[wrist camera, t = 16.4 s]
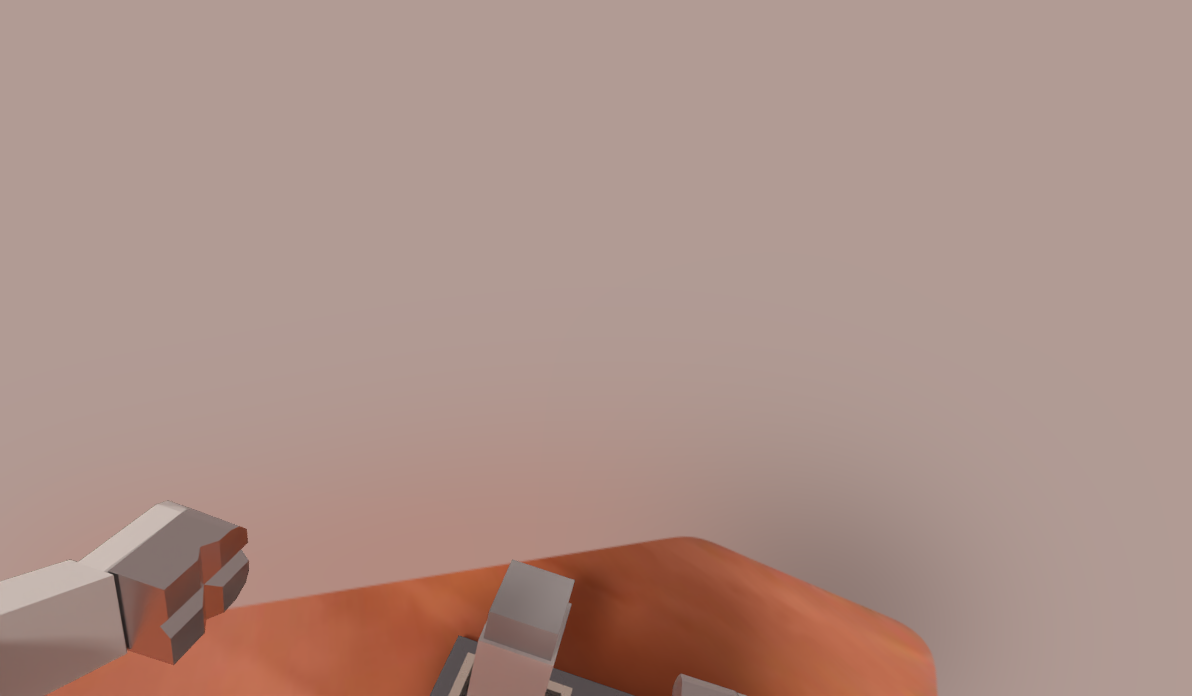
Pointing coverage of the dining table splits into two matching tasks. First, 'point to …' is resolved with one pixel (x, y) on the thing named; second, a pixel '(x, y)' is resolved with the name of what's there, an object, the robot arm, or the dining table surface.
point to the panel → (451, 688)
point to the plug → (521, 633)
